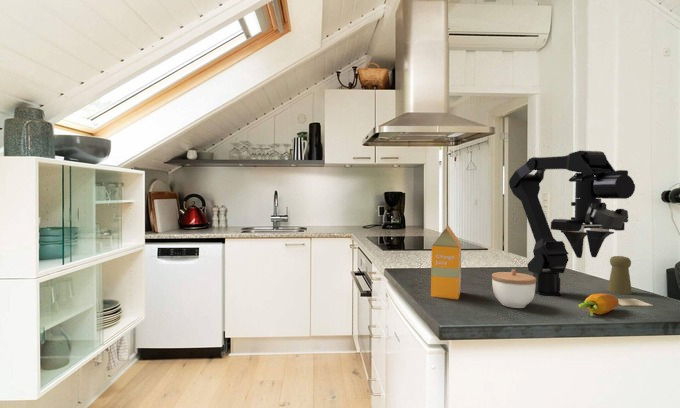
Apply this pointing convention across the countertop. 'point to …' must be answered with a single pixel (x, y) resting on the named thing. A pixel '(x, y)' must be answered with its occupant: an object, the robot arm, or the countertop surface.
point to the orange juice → (446, 266)
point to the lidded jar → (513, 288)
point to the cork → (620, 275)
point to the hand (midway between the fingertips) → (586, 257)
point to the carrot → (599, 303)
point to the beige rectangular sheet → (632, 302)
